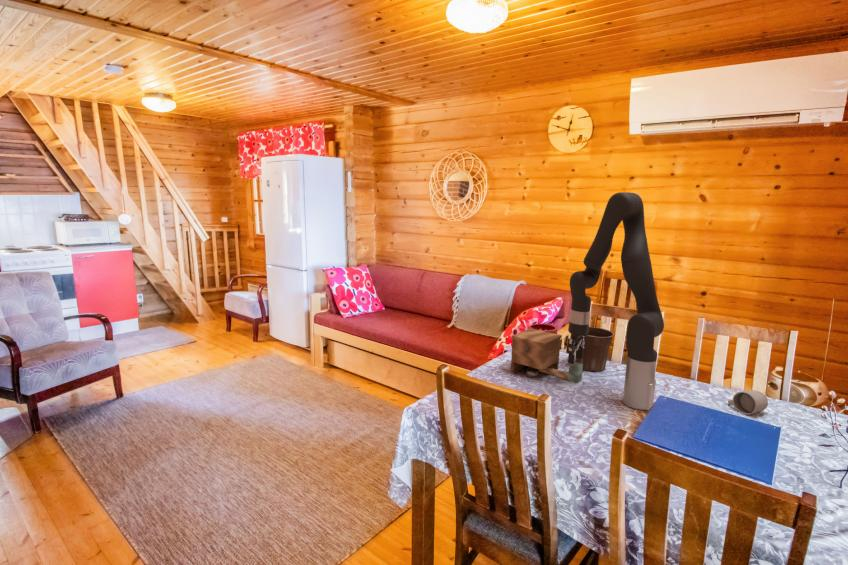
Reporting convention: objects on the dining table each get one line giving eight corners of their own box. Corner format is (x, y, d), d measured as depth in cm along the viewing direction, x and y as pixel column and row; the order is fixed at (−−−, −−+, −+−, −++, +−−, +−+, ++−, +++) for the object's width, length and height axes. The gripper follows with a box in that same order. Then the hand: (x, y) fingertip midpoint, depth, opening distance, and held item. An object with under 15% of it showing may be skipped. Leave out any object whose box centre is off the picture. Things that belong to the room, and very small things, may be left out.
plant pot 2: (538, 344, 224) (539, 321, 222) (560, 351, 214) (562, 327, 212) (521, 349, 216) (523, 325, 214) (544, 356, 206) (546, 331, 204)
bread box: (558, 371, 188) (561, 335, 185) (541, 383, 175) (544, 343, 173) (527, 363, 197) (529, 328, 194) (508, 373, 185) (510, 336, 182)
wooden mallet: (581, 380, 179) (582, 364, 177) (577, 383, 176) (579, 366, 174) (531, 367, 193) (532, 351, 191) (526, 369, 190) (527, 353, 188)
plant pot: (616, 367, 194) (620, 331, 192) (601, 377, 183) (605, 339, 180) (580, 358, 205) (583, 324, 203) (564, 366, 194) (567, 330, 191)
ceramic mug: (768, 414, 153) (771, 392, 151) (754, 418, 149) (757, 396, 148) (735, 402, 162) (738, 382, 161) (721, 406, 158) (724, 385, 157)
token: (540, 375, 183) (540, 370, 183) (535, 379, 179) (535, 373, 179) (529, 372, 186) (529, 367, 186) (523, 376, 182) (524, 370, 182)
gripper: (581, 326, 166) (577, 367, 170) (595, 319, 177) (591, 358, 180) (562, 322, 171) (558, 362, 174) (576, 316, 182) (573, 353, 185)
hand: (575, 360), depth 177 cm, fingers open, 8 cm apart
